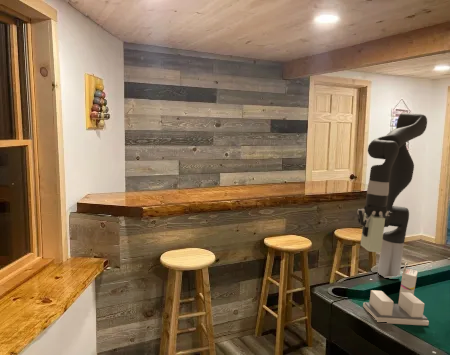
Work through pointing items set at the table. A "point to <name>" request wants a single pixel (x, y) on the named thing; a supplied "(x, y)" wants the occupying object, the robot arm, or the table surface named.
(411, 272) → the ink cartridge box
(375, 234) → the block
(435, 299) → the table surface
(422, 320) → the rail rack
